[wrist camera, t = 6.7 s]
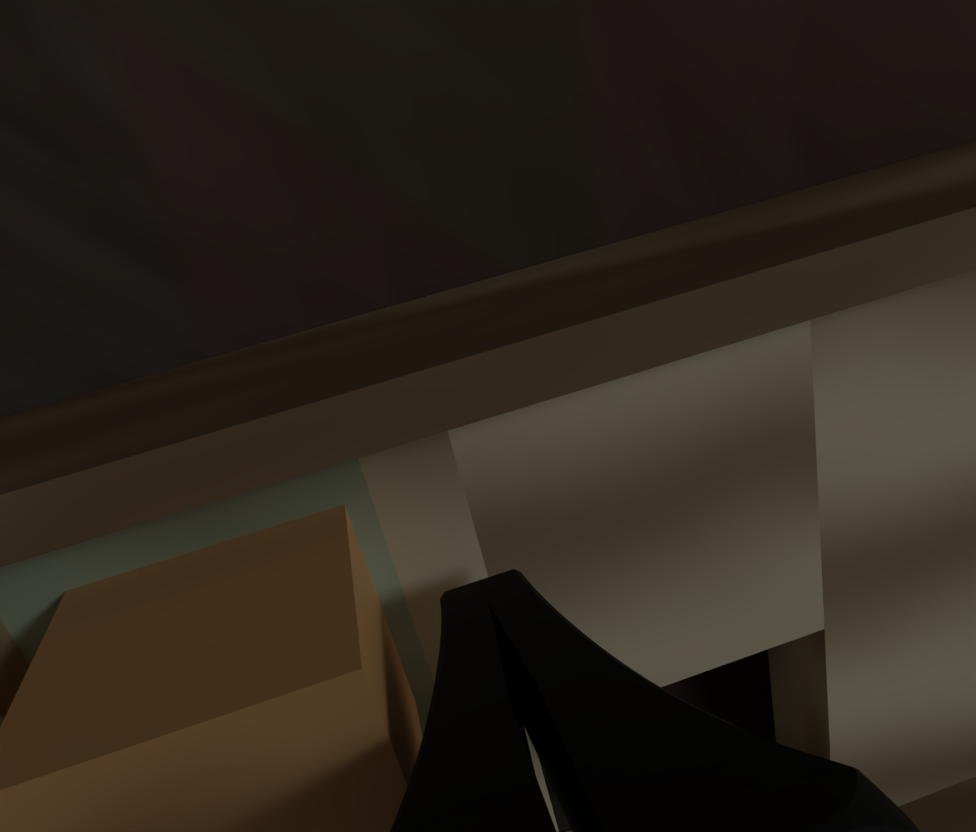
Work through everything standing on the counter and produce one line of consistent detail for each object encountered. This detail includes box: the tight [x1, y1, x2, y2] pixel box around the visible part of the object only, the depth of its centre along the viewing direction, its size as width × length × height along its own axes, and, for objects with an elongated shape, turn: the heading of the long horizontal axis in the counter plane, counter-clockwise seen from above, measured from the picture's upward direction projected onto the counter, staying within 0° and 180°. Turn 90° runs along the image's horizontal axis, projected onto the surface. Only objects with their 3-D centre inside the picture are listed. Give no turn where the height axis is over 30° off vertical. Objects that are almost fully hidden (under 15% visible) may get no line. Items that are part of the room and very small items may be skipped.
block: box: [0, 504, 423, 832], centre depth 11 cm, size 4×4×4 cm
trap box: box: [0, 140, 976, 832], centre depth 16 cm, size 16×28×4 cm, turn 103°
